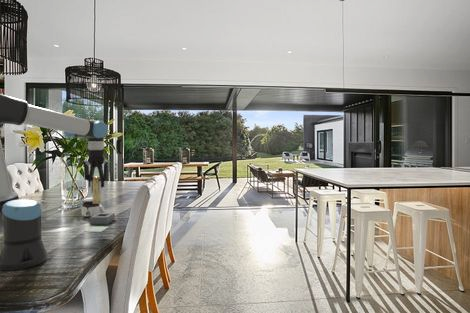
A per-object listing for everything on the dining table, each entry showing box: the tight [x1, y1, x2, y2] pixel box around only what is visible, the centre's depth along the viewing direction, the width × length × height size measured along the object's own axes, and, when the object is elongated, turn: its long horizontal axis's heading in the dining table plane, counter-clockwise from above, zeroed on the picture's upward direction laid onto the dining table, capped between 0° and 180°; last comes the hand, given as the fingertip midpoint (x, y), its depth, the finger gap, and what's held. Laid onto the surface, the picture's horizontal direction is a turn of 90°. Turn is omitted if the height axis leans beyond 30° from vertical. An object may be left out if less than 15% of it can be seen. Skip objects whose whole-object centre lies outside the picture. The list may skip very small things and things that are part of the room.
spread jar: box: [81, 196, 106, 219], centre depth 179 cm, size 12×11×12 cm
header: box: [89, 212, 116, 225], centre depth 165 cm, size 10×10×4 cm
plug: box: [92, 176, 102, 204], centre depth 150 cm, size 4×4×14 cm
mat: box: [83, 225, 109, 233], centre depth 151 cm, size 9×9×1 cm
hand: (96, 193), depth 150 cm, fingers closed on plug, 4 cm apart
